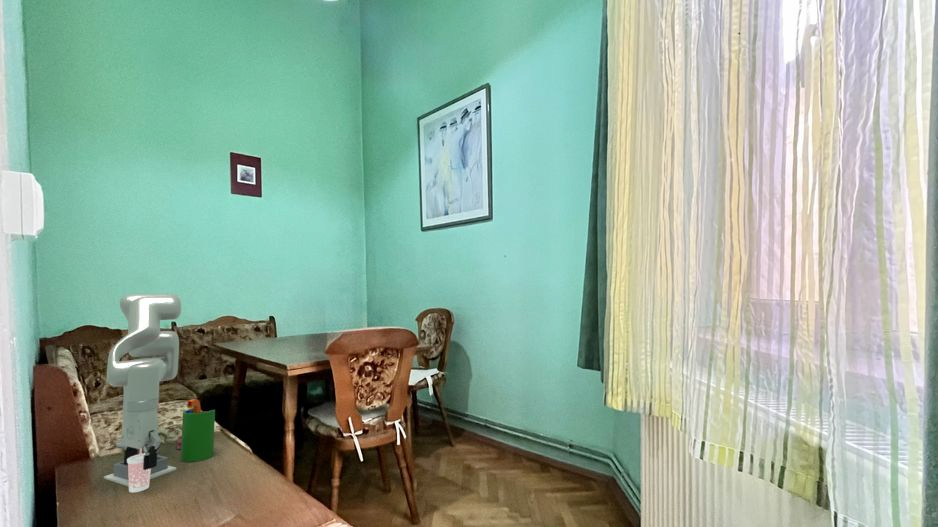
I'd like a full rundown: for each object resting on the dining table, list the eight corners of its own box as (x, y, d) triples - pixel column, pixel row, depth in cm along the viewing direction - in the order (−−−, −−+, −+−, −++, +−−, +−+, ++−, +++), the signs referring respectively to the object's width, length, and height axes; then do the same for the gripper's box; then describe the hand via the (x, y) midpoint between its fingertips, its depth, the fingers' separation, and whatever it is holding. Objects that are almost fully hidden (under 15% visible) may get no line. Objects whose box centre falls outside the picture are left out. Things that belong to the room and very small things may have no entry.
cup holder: (103, 478, 128) (104, 465, 128) (150, 462, 139) (151, 450, 140) (129, 486, 122) (130, 472, 122) (176, 469, 134) (176, 456, 134)
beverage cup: (141, 493, 117) (143, 442, 118) (119, 493, 118) (122, 443, 119) (157, 483, 124) (159, 435, 125) (137, 483, 124) (139, 435, 125)
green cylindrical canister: (219, 452, 148) (221, 395, 149) (201, 462, 139) (203, 401, 140) (193, 451, 149) (195, 394, 150) (173, 461, 140) (175, 401, 141)
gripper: (111, 405, 122) (108, 465, 121) (145, 411, 115) (142, 475, 114) (140, 399, 129) (137, 456, 128) (174, 405, 122) (171, 465, 121)
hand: (140, 465), depth 121 cm, fingers open, 9 cm apart
